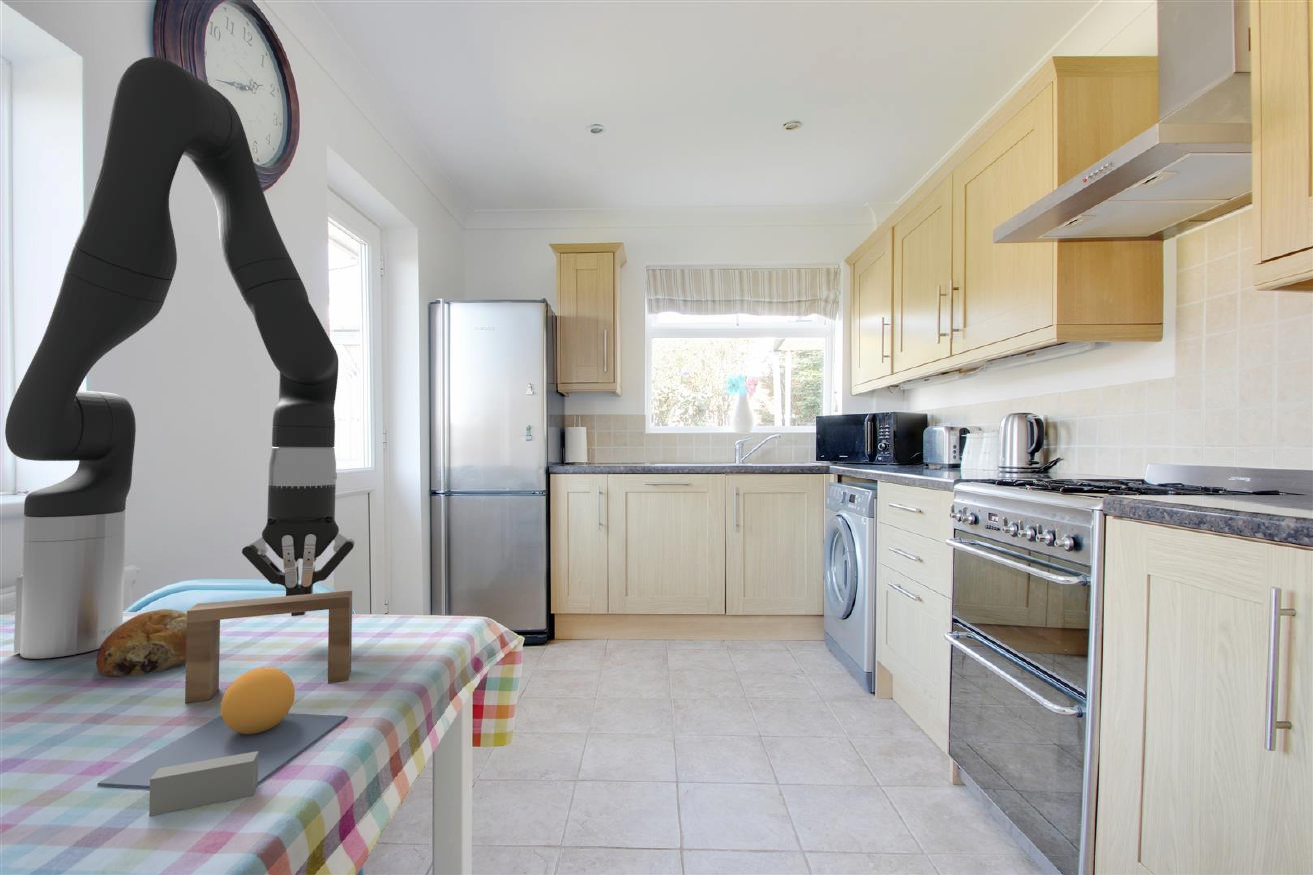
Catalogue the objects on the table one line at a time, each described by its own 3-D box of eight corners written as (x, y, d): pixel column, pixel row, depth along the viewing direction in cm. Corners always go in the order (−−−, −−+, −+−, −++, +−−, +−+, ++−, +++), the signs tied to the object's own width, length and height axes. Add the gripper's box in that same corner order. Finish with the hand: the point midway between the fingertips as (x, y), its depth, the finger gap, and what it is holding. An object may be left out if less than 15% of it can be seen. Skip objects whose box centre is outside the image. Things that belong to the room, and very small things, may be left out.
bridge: (195, 691, 60) (197, 603, 60) (351, 670, 66) (352, 590, 66) (185, 703, 57) (186, 610, 57) (348, 680, 63) (349, 596, 63)
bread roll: (214, 683, 71) (238, 617, 75) (141, 677, 62) (172, 602, 66) (142, 680, 72) (170, 615, 76) (60, 673, 63) (95, 600, 67)
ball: (209, 674, 51) (211, 737, 51) (235, 685, 48) (237, 752, 48) (277, 655, 55) (279, 712, 55) (305, 663, 52) (307, 724, 52)
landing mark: (97, 785, 43) (97, 782, 43) (229, 712, 55) (229, 710, 55) (245, 793, 42) (245, 790, 42) (347, 717, 54) (347, 715, 54)
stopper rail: (158, 803, 41) (158, 768, 41) (257, 784, 43) (258, 750, 43) (149, 815, 39) (150, 779, 39) (252, 795, 42) (253, 760, 42)
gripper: (234, 484, 68) (229, 628, 68) (357, 483, 74) (354, 616, 74) (248, 480, 75) (244, 611, 75) (361, 479, 81) (357, 602, 81)
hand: (299, 614), depth 74 cm, fingers closed
